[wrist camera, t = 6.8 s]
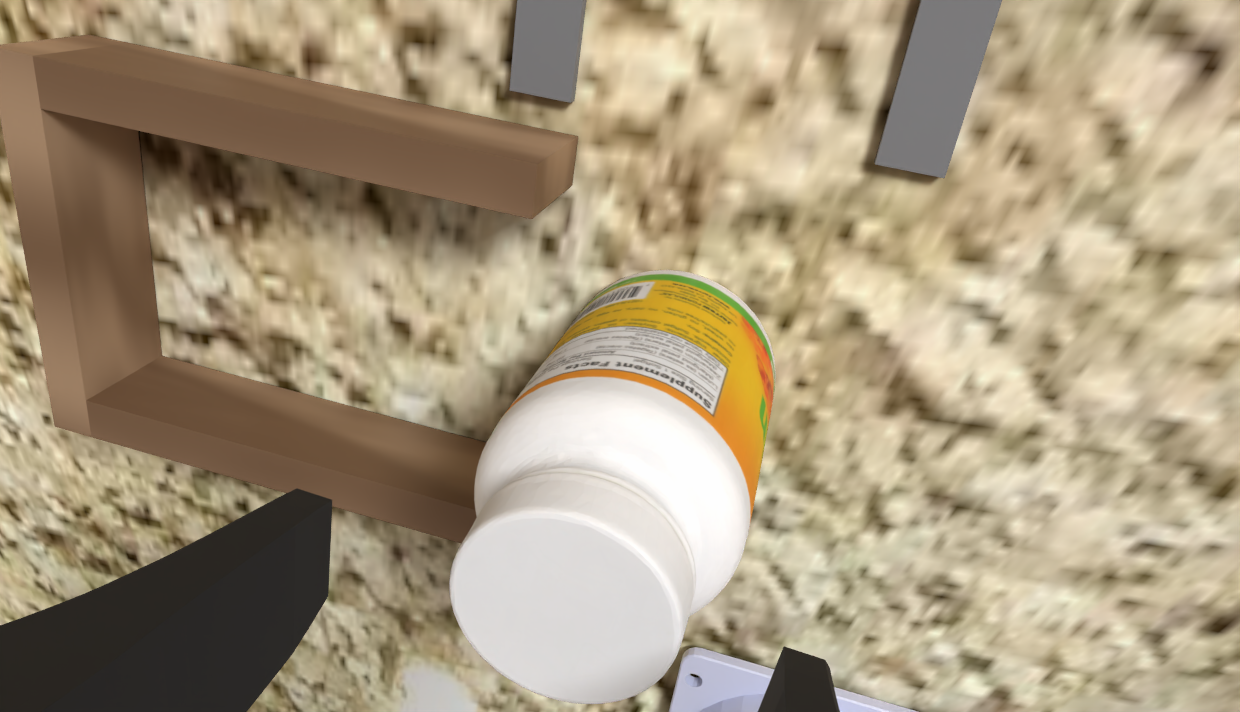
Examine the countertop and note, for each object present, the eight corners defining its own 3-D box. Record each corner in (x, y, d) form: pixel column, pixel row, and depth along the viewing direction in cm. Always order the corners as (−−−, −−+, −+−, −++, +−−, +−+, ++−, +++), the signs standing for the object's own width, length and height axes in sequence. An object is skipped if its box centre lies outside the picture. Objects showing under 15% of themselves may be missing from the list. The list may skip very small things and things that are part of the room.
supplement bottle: (733, 481, 24) (664, 783, 15) (551, 408, 24) (384, 661, 16) (810, 311, 21) (780, 559, 13) (605, 232, 22) (441, 420, 13)
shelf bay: (534, 490, 25) (496, 553, 23) (132, 380, 27) (54, 426, 25) (578, 136, 21) (537, 164, 18) (88, 34, 23) (-13, 46, 20)
